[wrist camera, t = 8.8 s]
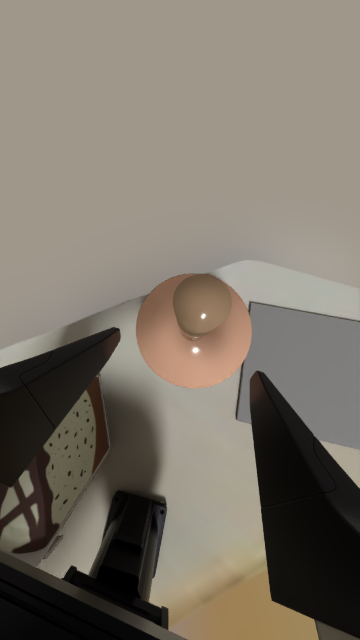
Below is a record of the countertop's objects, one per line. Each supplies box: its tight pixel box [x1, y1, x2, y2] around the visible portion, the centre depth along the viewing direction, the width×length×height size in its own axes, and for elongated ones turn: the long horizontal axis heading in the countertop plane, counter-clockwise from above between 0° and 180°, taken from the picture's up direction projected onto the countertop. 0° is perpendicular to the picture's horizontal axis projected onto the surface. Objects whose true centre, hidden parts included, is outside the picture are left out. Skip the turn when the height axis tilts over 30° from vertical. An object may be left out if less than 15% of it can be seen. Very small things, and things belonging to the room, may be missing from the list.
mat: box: [236, 303, 360, 450], centre depth 20 cm, size 16×16×1 cm
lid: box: [136, 274, 252, 388], centre depth 13 cm, size 13×13×10 cm
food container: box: [0, 375, 111, 567], centre depth 15 cm, size 12×6×10 cm, turn 15°
